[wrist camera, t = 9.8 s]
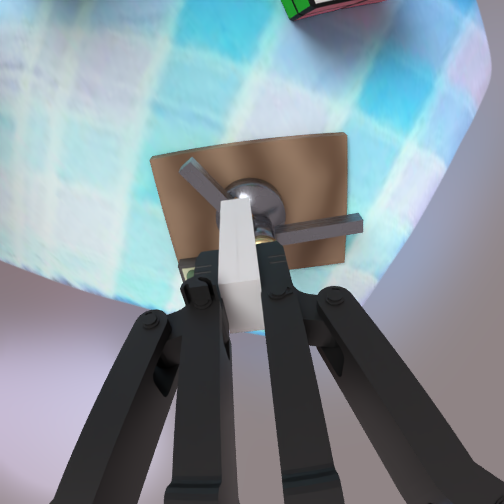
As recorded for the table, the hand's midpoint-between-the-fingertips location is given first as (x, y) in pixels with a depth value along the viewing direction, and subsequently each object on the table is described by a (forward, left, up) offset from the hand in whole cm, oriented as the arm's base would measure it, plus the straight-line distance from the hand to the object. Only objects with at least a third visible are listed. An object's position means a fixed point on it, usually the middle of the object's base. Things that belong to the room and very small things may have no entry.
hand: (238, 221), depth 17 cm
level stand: (+1, -8, -17) cm, 19 cm away
